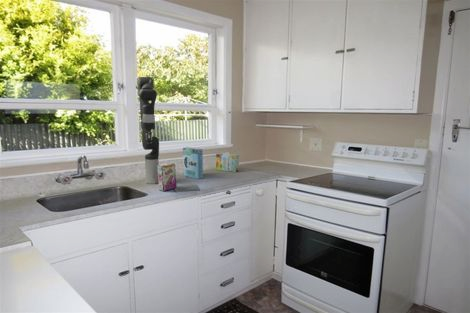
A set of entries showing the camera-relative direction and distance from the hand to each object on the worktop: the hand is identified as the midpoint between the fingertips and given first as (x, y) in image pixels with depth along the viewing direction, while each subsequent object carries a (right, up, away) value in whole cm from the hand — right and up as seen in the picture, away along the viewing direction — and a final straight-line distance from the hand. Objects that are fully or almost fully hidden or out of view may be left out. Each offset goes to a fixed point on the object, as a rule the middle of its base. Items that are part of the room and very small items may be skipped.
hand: (149, 149), depth 193 cm
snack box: (+47, -17, +78) cm, 93 cm away
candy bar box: (+10, -26, +7) cm, 29 cm away
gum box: (+21, -21, +49) cm, 57 cm away
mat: (+22, -26, +11) cm, 36 cm away
